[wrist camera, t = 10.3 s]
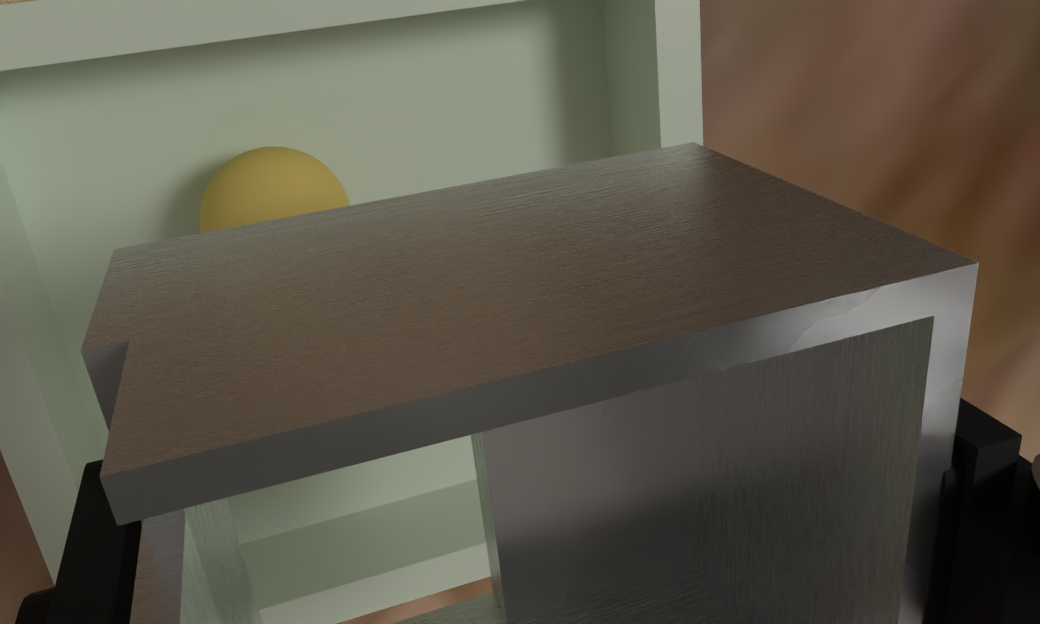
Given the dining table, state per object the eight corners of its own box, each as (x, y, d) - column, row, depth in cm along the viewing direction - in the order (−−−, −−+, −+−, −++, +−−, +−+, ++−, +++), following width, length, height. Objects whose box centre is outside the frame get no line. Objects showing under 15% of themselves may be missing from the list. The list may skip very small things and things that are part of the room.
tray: (-98, 15, 16) (-171, 24, 13) (623, -69, 20) (697, -77, 17) (115, 594, 22) (99, 696, 19) (651, 444, 26) (711, 508, 23)
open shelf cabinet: (113, 249, 10) (32, 493, 6) (694, 142, 12) (979, 262, 7) (251, 687, 13) (270, 1072, 8) (698, 548, 15) (903, 808, 10)
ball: (217, 302, 16) (291, 156, 15) (148, 234, 18) (215, 102, 17) (337, 332, 18) (404, 207, 18) (266, 270, 20) (326, 155, 20)
